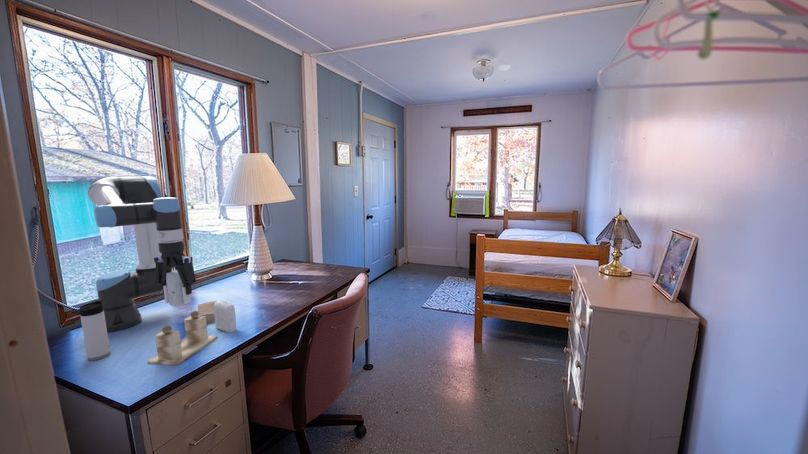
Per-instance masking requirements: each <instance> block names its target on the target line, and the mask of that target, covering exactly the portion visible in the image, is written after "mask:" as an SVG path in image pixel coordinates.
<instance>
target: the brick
mask: <svg viewBox="0 0 808 454" xmlns="http://www.w3.org/2000/svg"><path fill="white" fill-rule="evenodd" d="M217 301H218V300H214V301H209V302H204V303H200V304H198V305H197V311H198V313H199V315H198V316H206V324H211V323H215V316H214V304H215V302H217Z"/></svg>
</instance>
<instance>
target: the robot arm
mask: <svg viewBox="0 0 808 454" xmlns="http://www.w3.org/2000/svg"><path fill="white" fill-rule="evenodd" d="M87 197H88V198H89V199H88V200H90V202H92V204H94V205H96V206H95V207H94V208H93V212H94V219H95V223H96V226H97V227H98V228H116V227H124V226H126V227H127V226H133V229H134V237H135V244H136V252H137V257H138V264H137V265H136V266H135V271H133V272H131V271H130V270H129V269H123V270H116V271H112V272H109V273H106V274H103V275H102V276H100V277H98V278H97V279H96V281H95V284H96V288H95V291H97V297H98V298H97V299H98V301H101V302H102V304H103V310H104V315H105V322H106V328H107V333H111V332H116V331H122V330H125V329H129V328H131V327H134V326H136V325H138V324H140V323H141V322H142V320H143V319H142V314H141V313H140V310H139V309H138V307H137V306H136V304H135V299H137V298H139V299H140V298H142V297H147V296H153V295H157V294H161V293H162V294H163V295H164V303H165V304H169V301H168V292H167V283H166V273H168V272H171V271H173V268H174V270H177V271H178V274H179V276H180V278H181V280H182V282H183V285H184V286H182V292H183V300H184V304H185V305H187V304H189V303H191V302H192V292H193V291H192V285H193V284H197V278H196V275H195V271H194V266H193V265H194V264H193V256H186V255H185V253H184V252H185V241H184V240H183V239H184V233H183V232H184V231H183V225H182V215H181V205H180V200H179V198H177V197H170V196H169V197H163V194H162V189H161V187H160V184H159V182H158V180H157V179H156V178H155V177H153V176H145V175H144V176H143V175H142V176H139V175H138V176H109V177H103V178H101V179H99V180H97V181H95V182H94V183H92V184H91V185H90V187H89V188H88V189H87ZM139 322H140V323H139Z"/></svg>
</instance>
